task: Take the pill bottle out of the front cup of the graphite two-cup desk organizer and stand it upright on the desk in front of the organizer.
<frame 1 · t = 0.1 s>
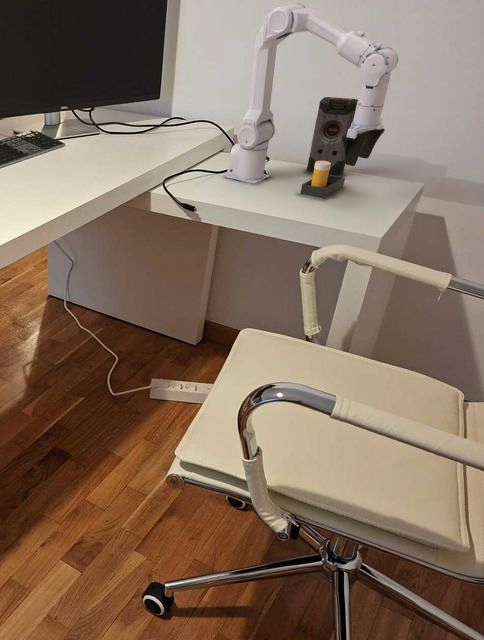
hand: (356, 161, 164), 10 cm above the table, tool pointing down, fingers open, 7 cm apart
pill bottle: (316, 192, 174), resting on organizer
organizer: (321, 191, 176), on the table
electronic device: (324, 174, 188), on the table
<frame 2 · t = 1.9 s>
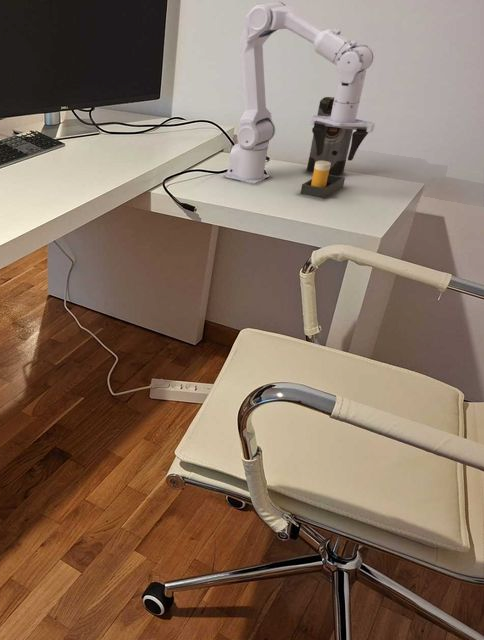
hand: (334, 157, 168), 10 cm above the table, tool pointing down, fingers open, 7 cm apart
nothing on the table moved.
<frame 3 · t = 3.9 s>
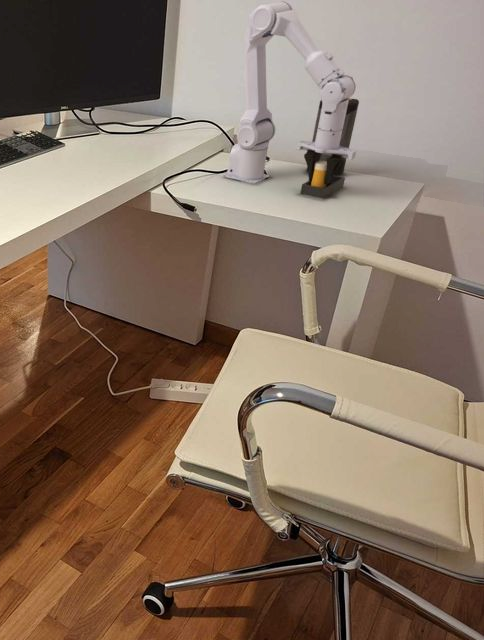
hand: (319, 181, 173), 3 cm above the table, tool pointing down, fingers closed on pill bottle, 3 cm apart
pill bottle: (316, 192, 174), resting on organizer, touching gripper
everything else where it was.
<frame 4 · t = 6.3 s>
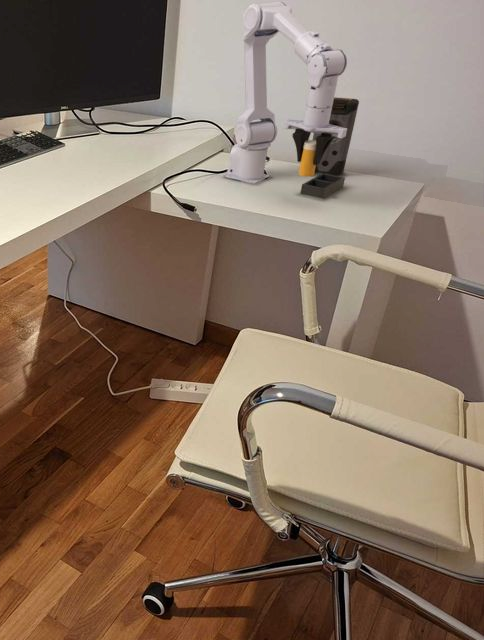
hand: (308, 162, 165), 10 cm above the table, tool pointing down, fingers closed on pill bottle, 3 cm apart
pill bottle: (306, 174, 166), point 7 cm above the table, touching gripper
everything else where it was.
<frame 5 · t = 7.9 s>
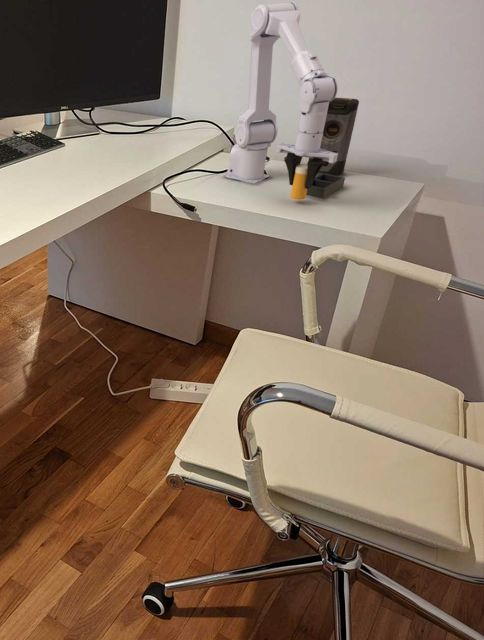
hand: (300, 185, 167), 5 cm above the table, tool pointing down, fingers closed on pill bottle, 3 cm apart
pill bottle: (298, 197, 168), point 2 cm above the table, touching gripper
everything else where it was.
when the fingers open (3 cm above the table, at t = 8.9 s): pill bottle stays where it is, on the table.
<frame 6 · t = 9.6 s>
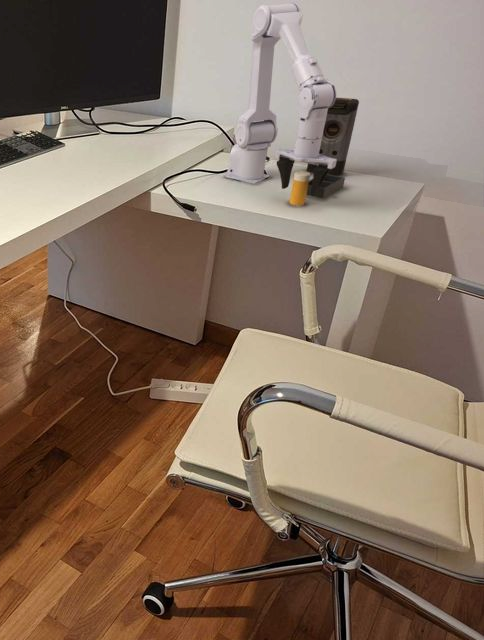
hand: (299, 190, 167), 3 cm above the table, tool pointing down, fingers open, 7 cm apart
pill bottle: (296, 204, 169), on the table
everything else where it was.
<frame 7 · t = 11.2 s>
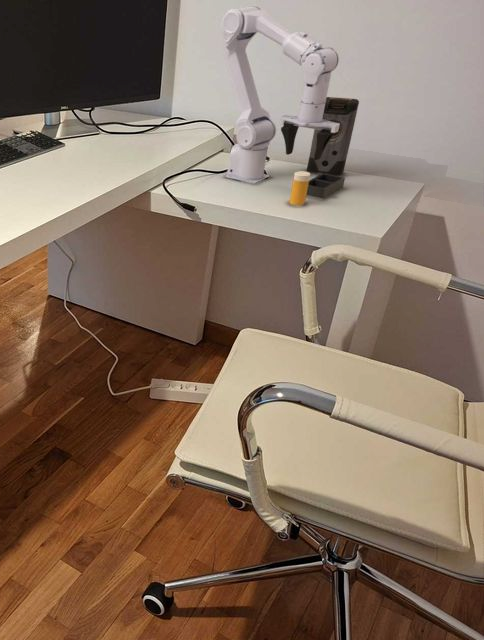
hand: (302, 156, 172), 9 cm above the table, tool pointing down, fingers open, 7 cm apart
nothing on the table moved.
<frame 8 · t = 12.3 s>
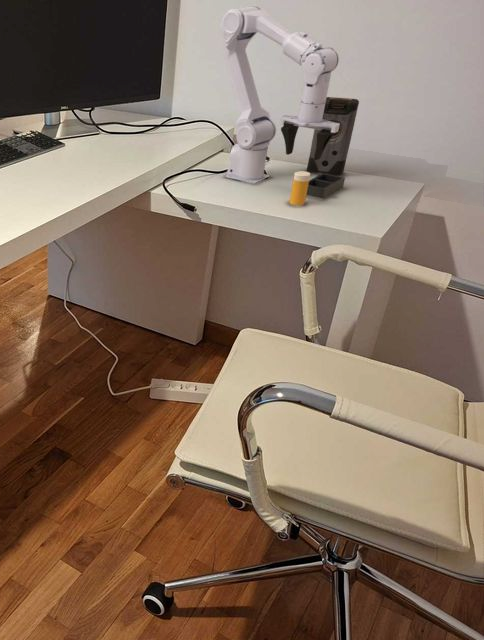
hand: (302, 156, 172), 9 cm above the table, tool pointing down, fingers open, 7 cm apart
nothing on the table moved.
at the end: pill bottle 0.1 cm from the target spot, on the table; pill bottle tilted 0°; the gripper is holding nothing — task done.
